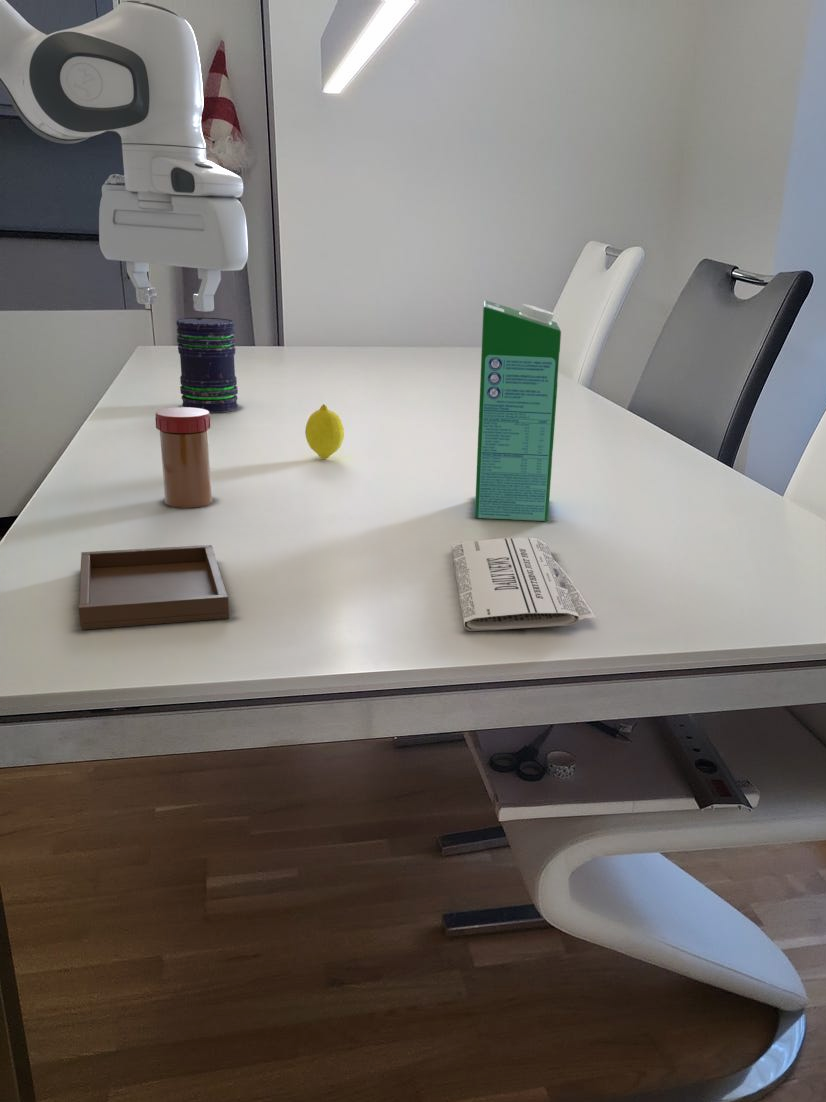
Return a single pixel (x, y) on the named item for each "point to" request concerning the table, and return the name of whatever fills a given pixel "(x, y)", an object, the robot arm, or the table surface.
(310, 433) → the fruit
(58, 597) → the table surface
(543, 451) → the milk carton
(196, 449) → the jar
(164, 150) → the robot arm
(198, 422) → the lid
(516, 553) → the newspaper
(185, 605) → the tray
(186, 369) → the dark purple barrel
